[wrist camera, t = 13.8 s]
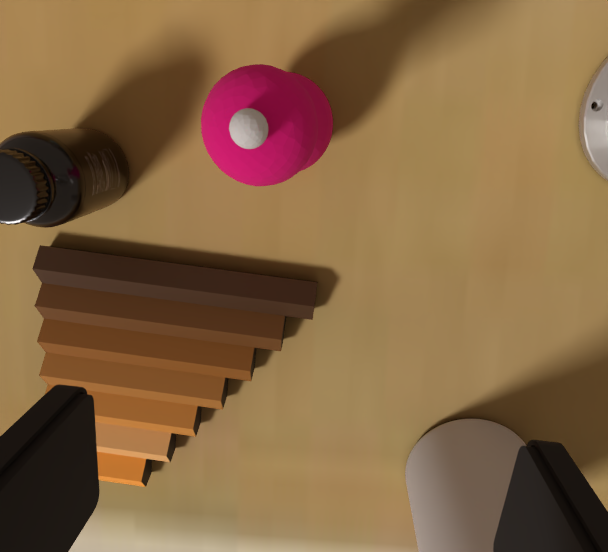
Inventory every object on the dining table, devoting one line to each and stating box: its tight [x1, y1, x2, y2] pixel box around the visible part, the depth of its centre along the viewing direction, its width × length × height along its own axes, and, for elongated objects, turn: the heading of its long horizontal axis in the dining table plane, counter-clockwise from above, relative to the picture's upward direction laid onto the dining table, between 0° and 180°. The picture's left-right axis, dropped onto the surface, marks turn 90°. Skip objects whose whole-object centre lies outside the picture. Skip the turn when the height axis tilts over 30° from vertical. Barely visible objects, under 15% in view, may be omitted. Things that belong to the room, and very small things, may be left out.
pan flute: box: [33, 246, 317, 487], centre depth 47 cm, size 25×3×25 cm
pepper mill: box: [201, 64, 333, 186], centre depth 31 cm, size 7×7×20 cm
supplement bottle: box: [0, 128, 129, 227], centre depth 37 cm, size 7×7×12 cm
